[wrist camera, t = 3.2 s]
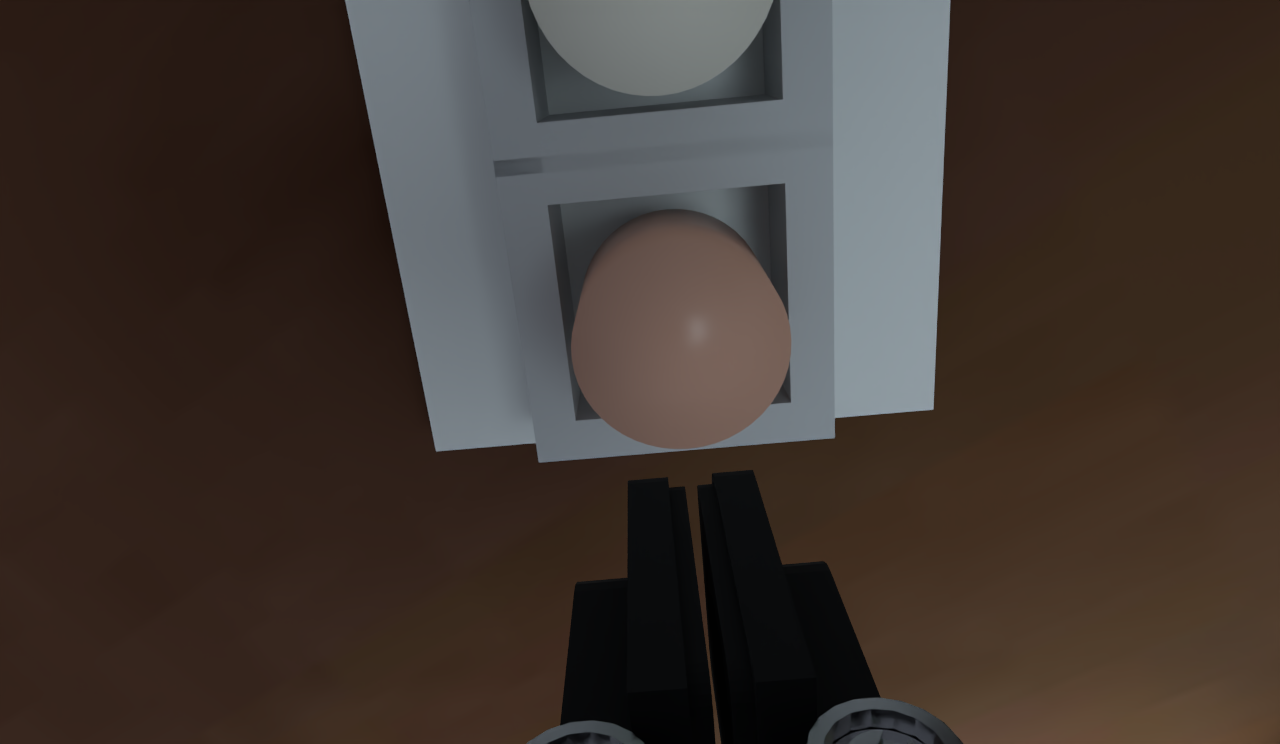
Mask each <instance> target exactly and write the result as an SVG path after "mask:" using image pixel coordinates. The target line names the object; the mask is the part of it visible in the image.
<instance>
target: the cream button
mask: <svg viewBox="0 0 1280 744" xmlns="http://www.w3.org/2000/svg"><path fill="white" fill-rule="evenodd" d="M528 1H529V4H530V7H531V10H532V12H533V14H534V16H535V19H536V21H537V23H538V25H539V27H540V28H541V30H542V32H543V33H544V35H545V37H546V38H547V40H548V41H549V42H550V44H551V45H552V46H553V48H554V49H555V50H556V51H557V53H558V54H559V55H560V56H561V57H562V58H563V59H564V60H565V61H566V62H567V63H568V64H569V65H570V66H572V67H573V68H574V69H576V70H577V71H578V72H579V73H581V74H582V75H583V76H585V77H587V78H589V79H590V80H592V81H594V82H596V83H597V84H599V85H602V86H604V87H607V88H609V89H612V90H614V91H618V92H622V93H626V94H631V95H640V96H662V95H668V94H674V93H679V92H682V91H686V90H689V89H692V88H694V87H697V86H699V85H701V84H703V83H705V82H707V81H709V80H711V79H712V78H714V77H715V76H717V75H719V74H720V73H722V72H723V71H724V70H725V69H727V68H728V67H729V66H730V65H731V64H733V63H734V62H735V61H736V60H737V59H738V58H739V57H740V56H741V54H742V53H743V52H744V51H745V50H746V49H747V48H748V46H749V45H750V44H751V42H752V41H753V40H754V38H755V37H756V35H757V34H758V32H759V30H760V28H761V27H762V25H763V23H764V21H765V19H766V17H767V15H768V12H769V10H770V7H771V5H772V2H773V0H528Z"/></svg>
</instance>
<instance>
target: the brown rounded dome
mask: <svg viewBox="0 0 1280 744" xmlns="http://www.w3.org/2000/svg"><path fill="white" fill-rule="evenodd" d="M571 355H572V363H573V368H574V373H575V376H576V379H577V382H578V385H579V387H580V389H581V391H582V393H583V395H584V397H585V398H586V400H587V401H588V403H589V404H590V406H591V407H592V409H593V410H594V411H595V412H596V413H597V414H598V415H599V416H600V417H601V418H602V419H603V420H604V421H605V422H606V423H607V424H609V425H610V426H611V427H612V428H614V429H615V430H617V431H618V432H620V433H621V434H623V435H625V436H627V437H629V438H631V439H633V440H635V441H638V442H641V443H644V444H647V445H651V446H655V447H660V448H669V449H691V448H698V447H704V446H707V445H711V444H715V443H718V442H720V441H723V440H725V439H728V438H730V437H732V436H734V435H735V434H737V433H739V432H741V431H742V430H744V429H745V428H746V427H748V426H749V425H751V424H752V423H753V422H754V421H755V420H756V419H758V418H759V417H760V416H761V415H762V414H763V413H764V411H765V410H766V409H767V408H768V407H769V406H770V404H771V403H772V402H773V400H774V398H775V397H776V395H777V394H778V392H779V390H780V388H781V386H782V384H783V382H784V379H785V376H786V373H787V370H788V367H789V362H790V356H791V331H790V324H789V320H788V316H787V313H786V310H785V307H784V305H783V302H782V300H781V298H780V297H779V295H778V293H777V291H776V290H775V288H774V286H773V285H772V283H771V281H770V279H769V278H768V276H767V274H766V273H765V271H764V269H763V268H762V266H761V264H760V263H759V261H758V259H757V258H756V256H755V254H754V253H753V251H752V249H751V248H750V247H749V245H748V244H747V243H746V241H745V240H744V239H743V238H742V237H741V236H740V235H739V234H738V233H737V232H736V231H735V230H733V229H732V228H731V227H729V226H728V225H727V224H725V223H724V222H722V221H720V220H718V219H716V218H714V217H712V216H709V215H707V214H704V213H700V212H696V211H692V210H684V209H665V210H659V211H653V212H650V213H647V214H643V215H641V216H638V217H636V218H634V219H632V220H630V221H628V222H627V223H625V224H623V225H622V226H620V227H619V228H618V229H616V230H615V231H614V232H613V233H611V234H610V235H609V236H608V237H607V239H606V240H605V241H604V242H603V243H602V244H601V246H600V247H599V248H598V250H597V251H596V252H595V254H594V256H593V258H592V260H591V262H590V264H589V266H588V269H587V272H586V275H585V279H584V283H583V287H582V292H581V296H580V300H579V304H578V309H577V313H576V317H575V321H574V326H573V331H572V339H571Z"/></svg>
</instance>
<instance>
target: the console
mask: <svg viewBox="0 0 1280 744" xmlns="http://www.w3.org/2000/svg"><path fill="white" fill-rule="evenodd" d="M345 2H346V7H347V12H348V17H349V22H350V27H351V32H352V37H353V42H354V47H355V52H356V57H357V62H358V67H359V72H360V77H361V82H362V86H363V91H364V96H365V101H366V106H367V111H368V116H369V121H370V126H371V131H372V136H373V141H374V146H375V151H376V156H377V161H378V166H379V171H380V176H381V181H382V186H383V191H384V196H385V201H386V205H387V210H388V215H389V220H390V225H391V230H392V235H393V240H394V245H395V250H396V255H397V260H398V265H399V270H400V275H401V280H402V285H403V290H404V295H405V300H406V305H407V310H408V315H409V320H410V325H411V329H412V334H413V339H414V344H415V349H416V354H417V359H418V364H419V369H420V374H421V379H422V384H423V389H424V394H425V399H426V404H427V409H428V414H429V419H430V424H431V429H432V434H433V439H434V444H435V449H436V451H447V450H458V449H470V448H482V447H494V446H506V445H518V444H530V443H536V447H537V454H538V460H539V463H540V462H552V461H564V460H576V459H588V458H600V457H612V456H624V455H636V454H648V453H660V452H672V451H684V450H696V449H708V448H720V447H732V446H744V445H756V444H768V443H780V442H792V441H804V440H816V439H828V438H835V418H839V417H851V416H863V415H874V414H886V413H898V412H910V411H922V410H933V405H934V381H935V357H936V333H937V309H938V285H939V261H940V237H941V213H942V189H943V165H944V142H945V118H946V94H947V70H948V46H949V22H950V0H773V2H772V5H771V7H770V10H769V12H768V15H767V17H766V19H765V21H764V23H763V25H762V27H761V28H760V30H759V32H758V34H757V35H756V37H755V38H754V40H753V41H752V42H751V44H750V45H749V46H748V48H747V49H746V50H745V51H744V52H743V53H742V54H741V56H740V57H739V58H738V59H737V60H736V61H735V62H734V63H733V64H731V65H730V66H729V67H728V68H727V69H725V70H724V71H723V72H722V73H720V74H719V75H717V76H715V77H714V78H712V79H711V80H709V81H707V82H705V83H703V84H701V85H699V86H697V87H694V88H692V89H689V90H686V91H682V92H679V93H674V94H668V95H662V96H640V95H631V94H626V93H622V92H618V91H614V90H612V89H609V88H607V87H604V86H602V85H599V84H597V83H596V82H594V81H592V80H590V79H589V78H587V77H585V76H583V75H582V74H581V73H579V72H578V71H577V70H576V69H574V68H573V67H572V66H570V65H569V64H568V63H567V62H566V61H565V60H564V59H563V58H562V57H561V56H560V55H559V54H558V53H557V51H556V50H555V49H554V48H553V46H552V45H551V44H550V42H549V41H548V40H547V38H546V37H545V35H544V33H543V32H542V30H541V28H540V27H539V25H538V23H537V21H536V19H535V16H534V14H533V12H532V10H531V7H530V4H529V1H528V0H345ZM665 209H684V210H692V211H696V212H700V213H704V214H707V215H709V216H712V217H714V218H716V219H718V220H720V221H722V222H724V223H725V224H727V225H728V226H729V227H731V228H732V229H733V230H735V231H736V232H737V233H738V234H739V235H740V236H741V237H742V238H743V239H744V240H745V241H746V243H747V244H748V245H749V247H750V248H751V249H752V251H753V253H754V254H755V256H756V258H757V259H758V261H759V263H760V264H761V266H762V268H763V269H764V271H765V273H766V274H767V276H768V278H769V279H770V281H771V283H772V285H773V286H774V288H775V290H776V291H777V293H778V295H779V297H780V298H781V300H782V302H783V305H784V307H785V310H786V313H787V316H788V320H789V324H790V331H791V356H790V362H789V367H788V370H787V373H786V376H785V379H784V382H783V384H782V386H781V388H780V390H779V392H778V394H777V395H776V397H775V398H774V400H773V402H772V403H771V404H770V406H769V407H768V408H767V409H766V410H765V411H764V413H763V414H762V415H761V416H760V417H759V418H758V419H756V420H755V421H754V422H753V423H752V424H751V425H749V426H748V427H746V428H745V429H744V430H742V431H741V432H739V433H737V434H735V435H734V436H732V437H730V438H728V439H725V440H723V441H720V442H718V443H715V444H711V445H707V446H704V447H698V448H691V449H669V448H660V447H655V446H651V445H647V444H644V443H641V442H638V441H635V440H633V439H631V438H629V437H627V436H625V435H623V434H621V433H620V432H618V431H617V430H615V429H614V428H612V427H611V426H610V425H609V424H607V423H606V422H605V421H604V420H603V419H602V418H601V417H600V416H599V415H598V414H597V413H596V412H595V411H594V410H593V409H592V407H591V406H590V404H589V403H588V401H587V400H586V398H585V397H584V395H583V393H582V391H581V389H580V387H579V385H578V382H577V379H576V376H575V373H574V368H573V363H572V355H571V339H572V331H573V326H574V321H575V317H576V313H577V309H578V304H579V300H580V296H581V292H582V287H583V283H584V279H585V275H586V272H587V269H588V266H589V264H590V262H591V260H592V258H593V256H594V254H595V252H596V251H597V250H598V248H599V247H600V246H601V244H602V243H603V242H604V241H605V240H606V239H607V237H608V236H609V235H610V234H611V233H613V232H614V231H615V230H616V229H618V228H619V227H620V226H622V225H623V224H625V223H627V222H628V221H630V220H632V219H634V218H636V217H638V216H641V215H643V214H647V213H650V212H653V211H659V210H665Z"/></svg>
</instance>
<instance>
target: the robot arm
mask: <svg viewBox="0 0 1280 744" xmlns="http://www.w3.org/2000/svg"><path fill="white" fill-rule="evenodd" d="M697 489H698V504H699V517H700V531H701V544H702V557H703V571H704V584H705V597H706V611H707V624H708V637H709V650H710V661H711V670H712V679H713V686H714V693H715V701H716V708H717V716H718V723H719V730H720V738H721V744H963V743H962V742H961V740H960V739H959V738H958V737H957V736H956V735H955V734H954V732H953V731H952V730H951V729H950V728H949V727H948V726H947V725H946V724H945V723H944V722H943V721H941V720H939V719H938V718H936V717H935V716H933V715H932V714H930V713H929V712H927V711H926V710H924V709H921V708H919V707H916V706H913V705H910V704H908V703H905V702H902V701H898V700H891V699H884V698H881V697H880V695H879V692H878V690H877V687H876V685H875V682H874V680H873V677H872V675H871V672H870V670H869V667H868V665H867V662H866V660H865V657H864V655H863V652H862V650H861V647H860V644H859V642H858V639H857V637H856V634H855V632H854V629H853V627H852V624H851V622H850V619H849V617H848V614H847V612H846V609H845V607H844V604H843V602H842V599H841V597H840V594H839V592H838V589H837V587H836V584H835V582H834V579H833V577H832V574H831V572H830V569H829V567H828V565H827V564H826V563H825V562H824V561H821V562H810V563H798V564H786V565H782V563H781V560H780V557H779V553H778V550H777V547H776V544H775V540H774V537H773V534H772V530H771V527H770V524H769V521H768V517H767V514H766V511H765V508H764V504H763V501H762V498H761V495H760V491H759V488H758V485H757V481H756V478H755V475H754V472H753V470H746V471H735V472H723V473H712V484H708V485H698V486H697ZM527 744H715V732H714V718H713V706H712V695H711V685H710V676H709V668H708V660H707V652H706V644H705V637H704V629H703V622H702V614H701V606H700V599H699V591H698V583H697V576H696V568H695V561H694V553H693V545H692V538H691V530H690V523H689V515H688V507H687V500H686V492H685V487H673V488H669V484H668V477H666V478H654V479H643V480H631V481H628V578H620V579H608V580H596V581H584V582H577V583H576V585H575V591H574V600H573V609H572V619H571V628H570V638H569V647H568V657H567V666H566V676H565V685H564V695H563V704H562V714H561V723H560V726H558V727H555V728H552V729H549V730H547V731H545V732H544V733H542V734H540V735H539V736H537V737H535V738H534V739H532V740H530V741H529V742H528V743H527Z"/></svg>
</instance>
